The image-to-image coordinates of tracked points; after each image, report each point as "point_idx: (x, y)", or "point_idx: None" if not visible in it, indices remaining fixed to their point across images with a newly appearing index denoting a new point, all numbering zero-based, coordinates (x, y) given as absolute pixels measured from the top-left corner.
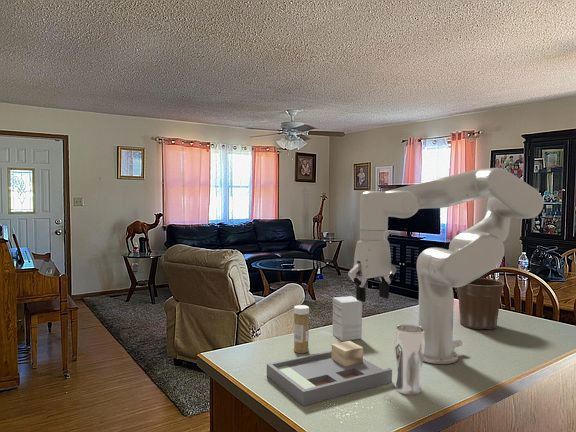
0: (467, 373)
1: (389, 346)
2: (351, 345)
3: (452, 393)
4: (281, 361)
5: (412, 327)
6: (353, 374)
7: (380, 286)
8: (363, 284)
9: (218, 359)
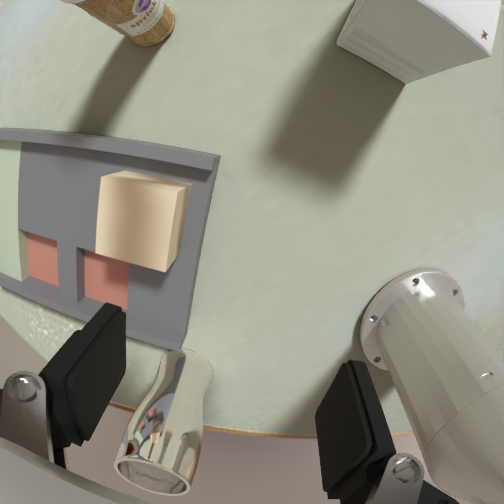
0: None
1: (412, 192)
2: (146, 232)
3: (242, 416)
4: (6, 134)
5: (184, 474)
6: None
7: (356, 432)
8: (55, 455)
9: (5, 8)
